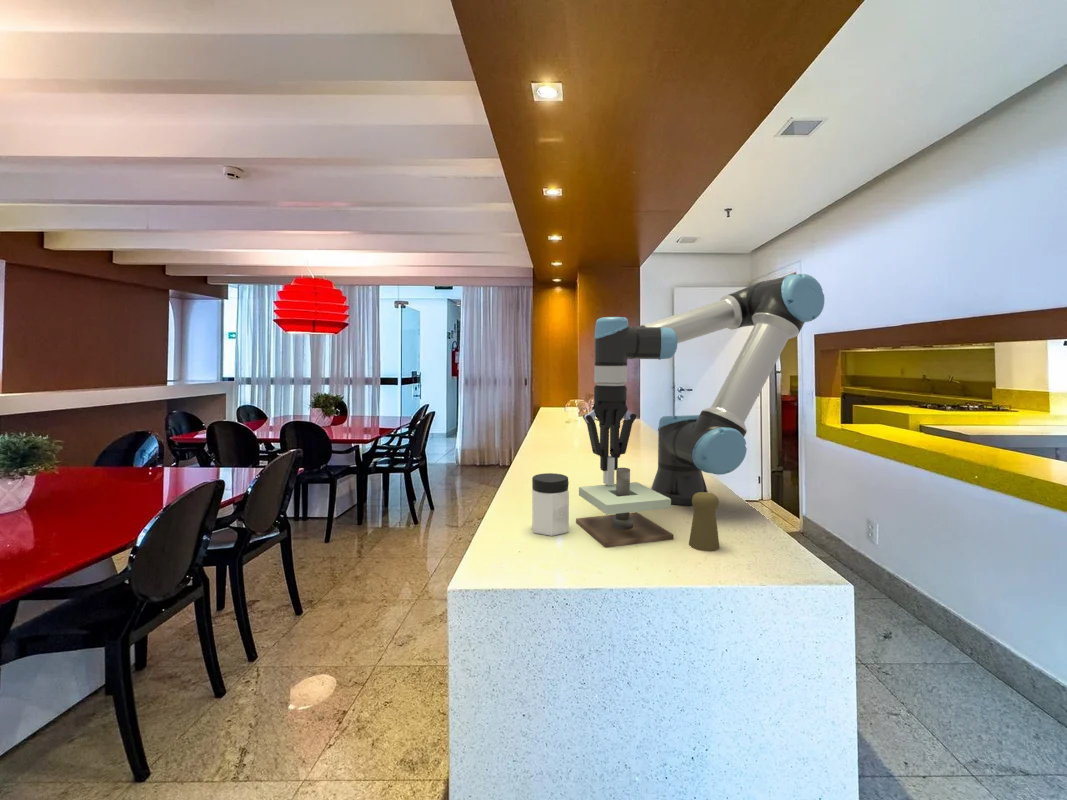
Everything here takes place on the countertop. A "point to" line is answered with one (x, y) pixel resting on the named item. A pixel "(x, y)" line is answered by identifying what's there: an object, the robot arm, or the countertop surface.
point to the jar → (550, 504)
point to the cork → (704, 522)
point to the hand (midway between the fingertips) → (608, 483)
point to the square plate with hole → (624, 499)
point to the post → (623, 522)
